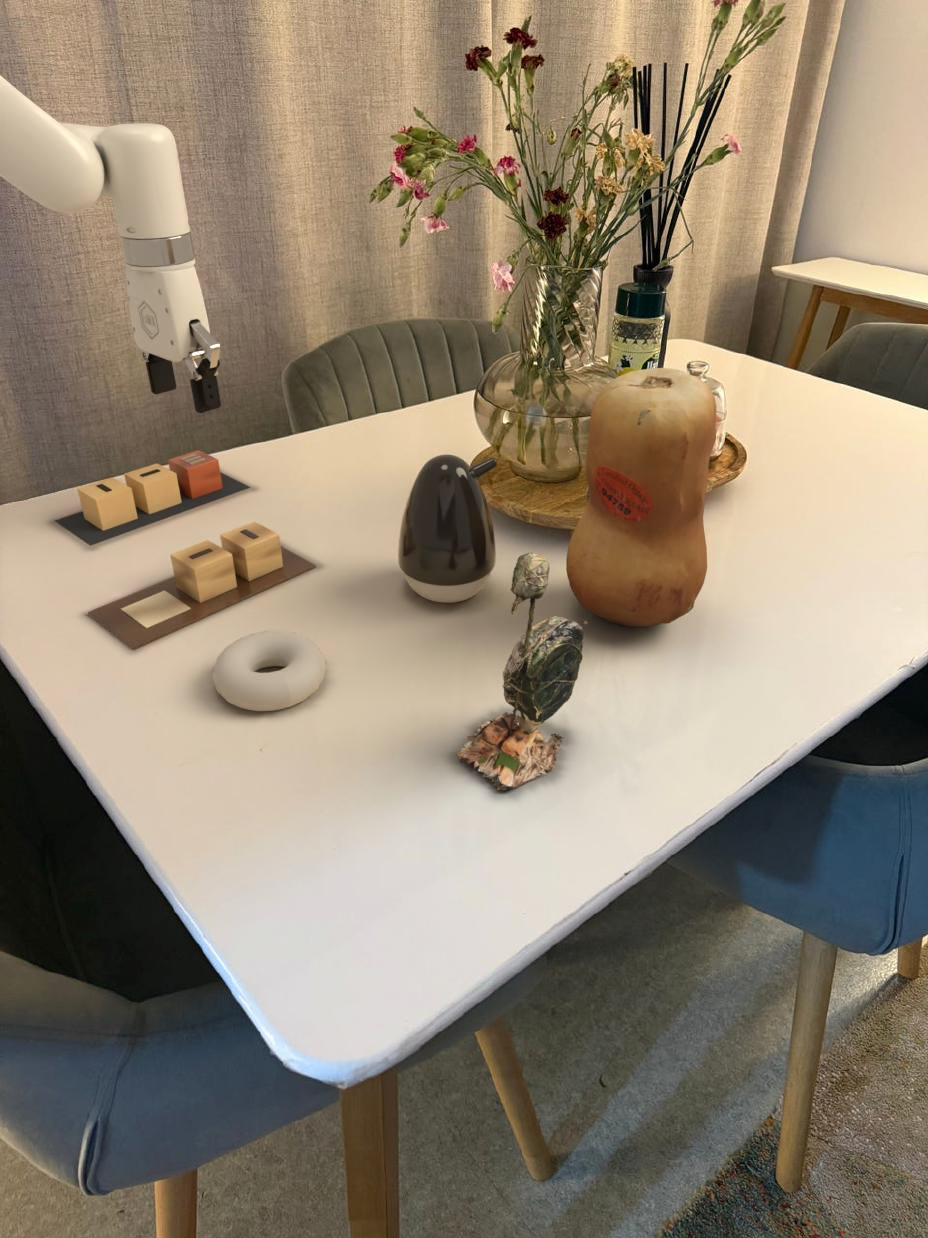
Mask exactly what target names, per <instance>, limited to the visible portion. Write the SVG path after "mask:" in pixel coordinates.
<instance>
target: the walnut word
mask: <svg viewBox="0 0 928 1238" xmlns="http://www.w3.org/2000/svg"><path fill="white" fill-rule="evenodd" d="M219 537H220V542H221V546H219V545H217V544H216V543H214V542H212V541H211V540H209V539H206V540H203V541H201V542H198V543H196V544H193V545H191V546H188V547H185V548H183V549H180V550H177V551H175V552H173V553H171V554H170V560H171V565H172V571H173V575H174V576H172V577H170V578H167V579H165V580H162V581H160V582H157V583H154V584H153V585H150V586H147V587H146V588H143V589H140V590H138V591H136V592H133V593H131V594H128V595H126V596H124V597H121V598H119V599H116V600H113V601H111V602H109V603H107V604H104V605H102V606H99V607H96V608H95V609H92V610H89V611H88V612H87V613H88V614H87V615H89V616H90V618H93V620H95V621H96V622H97V623H99V624H100V625H102V626H103V627H104V628H105V629H107V630H108V631H109V632H110V633H112V634H113V635H114V636H115V637H116V638H118V639H119V640H121V641H122V642H123V643H125V644H126V645H127V646H128V647H130V648H131V649H132V650H133V651H134V650H138V649H140V648H142V647H145V646H146V645H149V644H151V643H153V642H155V641H158V640H160V639H162V638H164V637H166V636H169V635H171V634H173V633H176V632H178V631H180V630H182V629H184V628H186V627H188V626H191V625H192V624H195V623H197V622H199V621H201V620H204V619H206V618H209V617H210V616H213V615H215V614H217V613H219V612H222V611H224V610H226V609H228V608H230V607H232V606H236V605H237V604H240V603H241V602H244V601H246V600H248V599H250V598H252V597H255V596H256V595H259V594H261V593H264V592H265V591H268V590H270V589H272V588H274V587H276V586H279V585H281V584H283V583H286V582H288V581H290V580H292V579H294V578H296V577H299V576H301V575H303V574H305V573H308V572H309V571H312V570H314V569H316V568H317V564H314V563H313V562H311V561H309V560H308V559H305V558H303V557H302V556H300V555H298V554H296V553H295V552H293V551H291V550H289V549H287V548H285V547H283V546H282V545H281V537H280V534H279V533H277V532H276V531H274V530H272V529H270V528H268V527H266V526H264V525H262V524H260V523H258V522H256V521H252V522H249V523H246V524H244V525H242V526H240V527H237V528H234V529H232V530H229V531H227V532H224V533H221V534H220V536H219Z"/></svg>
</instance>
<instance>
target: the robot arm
mask: <svg viewBox="0 0 928 1238" xmlns="http://www.w3.org/2000/svg"><path fill="white" fill-rule="evenodd" d="M0 177H1V178H2V179H4V180H5V181H6V182H8V183H9V184H10V185H12V186H13V187H15V188H16V189H17V190H19V191H20V192H22V193H23V194H24V195H26V196H27V197H28V198H30V199H31V200H32V201H34V202H36V203H37V204H39V205H41V206H42V207H45V208H46V209H49V210H51V211H53V212H56V213H61V214H67V215H68V214H70V215H71V214H79V213H81V212H84V211H87V210H88V209H90V208H91V207H93V206H94V204H96V202H97V201H98V200H99V198H101V197H108V196H109V197H110V198H111V202H112V207H113V210H114V211H113V212H114V216H115V220H116V226H117V230H118V231H117V232H118V235H119V239H120V244H121V250H122V254H123V255H122V256H123V259H124V264H125V287H126V295H127V302H128V310H129V316H130V322H131V323H130V324H131V326H132V327H131V328H132V333H133V338H134V342H135V344H136V345H137V347H138V348H139V349H140V350H142V351H141V356H142V359H143V360H144V362H145V367H146V371H147V376H148V381H149V386H150V391H151V393H152V394H154V395H160V394H164V393H167V392H171V391H174V390H176V389H177V382H176V376H175V371H174V366H173V363H180V362H182V361H183V362H184V364H185V366H186V367H187V369H188V371H189V372H190V374H191V376H192V378H191V379H189V383H190V388H191V394H192V400H193V404H194V409H195V412H196V413H198V414H203V413H206V412H209V411H210V412H211V411H213V410H217V409H219V408H221V406H222V402H221V396H220V390H219V389H220V388H219V383H218V377H217V376H218V375H219V367H220V366H221V365H220V362H221V361H220V354H221V344H220V343H219V342H218V341H217V340H216V339H215V337H213V335H212V334H211V329H210V323H209V318H208V314H207V309H206V304H205V300H204V295H203V291H202V288H201V285H200V280H199V278H198V273H197V270H196V267H195V264H196V258H195V252H194V246H193V245H194V244H193V240H192V233H191V227H190V221H189V215H188V209H187V202H186V196H185V192H184V191H185V190H184V185H183V179H182V172H181V166H180V159H179V154H178V148H177V143H176V139H175V136H174V134H173V132H172V131H171V130H170V129H169V128H168V127H167V126H165V125H163V124H159V123H151V122H150V123H147V122H146V123H145V122H142V123H141V122H138V123H137V122H135V123H120V124H113V125H109V126H99V125H98V126H96V125H86V124H77V123H69V122H59V121H58V120H56V119H55V118H54V117H52V116H51V115H50V114H49V113H47V112H46V111H44V109H42V108H41V107H40V106H38V105H37V104H36V103H34V102H33V101H32V100H31V99H29V98H28V97H27V96H25V94H23V93H22V92H21V91H20V90H18V89H17V88H16V87H15V86H13V85H12V83H10V82H9V81H8V80H7V79H5V78H4V77H3V76H2V75H1V74H0ZM200 359H201V361H200V362H199V364H198V365H197V362H196V361H195V360H200Z"/></svg>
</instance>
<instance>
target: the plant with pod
mask: <svg viewBox="0 0 928 1238" xmlns="http://www.w3.org/2000/svg"><path fill="white" fill-rule="evenodd" d="M550 569H551V567H550V562H549V560H548V558H547V557H546V556H545V555H543V554H541V553H540V554H538V553H534V552H527V553H524V554H521V555H519V556H518V558H517V560H516V562H515V567H514V568H513V573H512V578H511V588H510V589H509V590H510V591H511V593H512V594H514V595H515V599H514V601H513V602H512V603H511V605H512V607H511V610H510V613H511V614H512V615H513V614H514V613H516V611H517V609H518V605H520V604H522V603H524V602H525V601H526V600H529V603H530V604H529V609H528V620H527V627H526V628H527V629H526V631H525V632H524V634H523V635H522V636H521V637H519V639H518V640H517V642H516V644H514V646H513V648H512V651H511V653H510V655H509V657H508V659H507V661H506V664H505V667H504V668H503V669H504V670H503V671H502V679H503V684H502V685H501V686H502V688H503V697H504V700H505V702H506V703H507V704H508V705H510V706H511V707H513V710H512V712H510V713H509V711H506V712H504V713H503V714H502V715H497V717H495V719H492V720H491V719H490V720H485V723H483V722H482V724H480V723H479V724H478V725H479V727H478V728H477V730H476V731H473V733H474V734H472V735H469V736H466V739H467V742H466V743H463V746H464V747H461V749H460V751H459V752H457V757H458V760H459V761H461V763H462V762H463V763H466V765H469V764H471V763H473V762H474V764H473V769H476V768H477V767H478V770H477V772H481V773H484V774H483V775H482V778H487V780H491V782H492V783H493V782H494V783H493V784H492V786H495V787H496V788H497V790H499V791H504V790H505V791H506V790H507V791H510V790H514V789H515V788H516V787H520V786H521V785H525V784H526V783H528V782H530V780H533V779H535V778H537V777H539V776H540V777H541V774H544V775H547V772H546V771H548V772H551V770H552V769H554V768H555V766H554V765H556V762H557V755H558V753H559V751H560V750H562V749H563V748H561V747H562V746H561V745H562V744H563V739H564V738H565V736H561V735H560V733H558V734H556V732H555V733H550V738H549V739H548V740H547V738H546V737H545V736H543V734H542V732H541V731H540V730H539V727H540V726H541V725H543V724H544V723H545V721H547V720H549V719H550V718H552V717H553V716H554V715H555V714H556V713H557V712H558V711H559V710H560V709H561V708H562V707H563V706H564V704H566V703H567V702H568V701H569V700H570V698H571V696H572V694H573V691H574V687H575V684H576V682H577V680H578V678H579V672H580V667H581V664H582V661H583V658H584V656H583V646H584V642H583V640H584V631H583V630H584V629H583V627H582V626H581V625H580V624H579V623H578V622H577V621H575V619H571V618H565V617H564V616H563V617H562V616H557V615H554V616H551V617H547V618H545V619H544V620H542V621H539V622H537V623H536V624H534V625H533V622H534V616H535V611H536V610H535V609H536V600H539V599H542V598H543V596H544V595H545V593H546V591H547V588H548V584H549V575H550ZM583 624H584V625H588V621H587V619H586V620H584V622H583ZM517 712H520V715H519V714H516V713H517ZM546 740H547V741H546Z"/></svg>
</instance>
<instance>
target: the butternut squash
mask: <svg viewBox="0 0 928 1238" xmlns="http://www.w3.org/2000/svg"><path fill="white" fill-rule="evenodd" d="M716 422H717V402H716V398H715V395H714V393H713V391H712V389H711V388H710V387H709V386H708V384H707V383H706V382H705V381H704V380H702V379H701V378H699V377H697V376H694V375H692V374H690V373H689V372H686V371H684V370H680V369H676V368H669V367H656V368H655V367H654V368H645V369H638V370H630V371H629V372H626V373H624V374H622V375H619V376H617V377H615V378H613V379H611V380H610V381H609V382H608V383H606V384H605V385H604V386H603V388H601V391H600V392H599V393H598V394H597V397H596V398H595V400H594V403H593V406H592V408H591V413H590V417H589V426H588V436H587V442H586V443H587V444H586V452H585V473H586V474H585V475H586V481H587V486H588V500H587V502H586V503H587V504H586V506H585V508H584V511H583V513H582V514H581V516H580V518H579V520H578V522H577V523H576V525H575V527H574V530H573V532H572V535H571V537H570V540H569V543H568V547H567V552H566V561H565V562H566V563H565V564H566V567H565V569H566V570H565V571H566V576H567V579H568V584H569V587H570V590H571V593H572V594H573V595H574V597H575V598H576V600H577V602H578V603H579V604H580V606H581V607H583V608H584V609H586V610H587V611H589V612H590V613H593V615H594V614H595V615H596V616H598V617H600V618H602V619H604V620H606V621H609V622H610V623H612V624H616V625H620V626H623V627H629V628H633V629H635V628H641V627H648V626H649V627H650V626H655V625H667V624H671V623H672V622H674V621H676V620H677V619H678V620H679V618H681V617H683V616H685V615H686V614H688V613H689V612H691V611H692V610H693V608H694V607H695V601H696V599H697V598H698V596H699V594H700V592H701V591H702V588H703V586H704V583H705V581H706V575H707V571H708V551H707V550H708V548H707V540H706V534H705V525H704V513H705V505H706V504H705V503H706V496H707V487H708V480H709V479H708V478H709V470H710V469H709V467H710V459H711V454H712V451H713V448H714V446H715V443H716V441H717V430H716V429H717V427H716Z"/></svg>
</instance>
